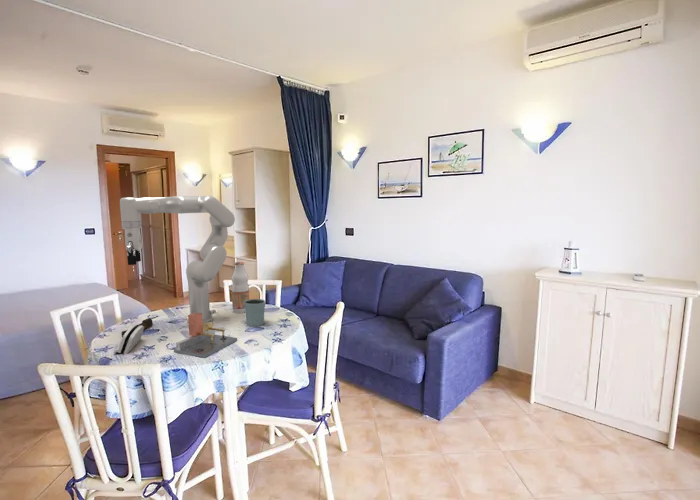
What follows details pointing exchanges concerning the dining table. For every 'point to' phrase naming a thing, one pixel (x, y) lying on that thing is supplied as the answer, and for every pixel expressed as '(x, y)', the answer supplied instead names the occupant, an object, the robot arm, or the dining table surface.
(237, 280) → the fruit juice
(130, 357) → the dining table surface
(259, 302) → the green cup
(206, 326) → the grey clamp fixture plate
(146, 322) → the hand tool
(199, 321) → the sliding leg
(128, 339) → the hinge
